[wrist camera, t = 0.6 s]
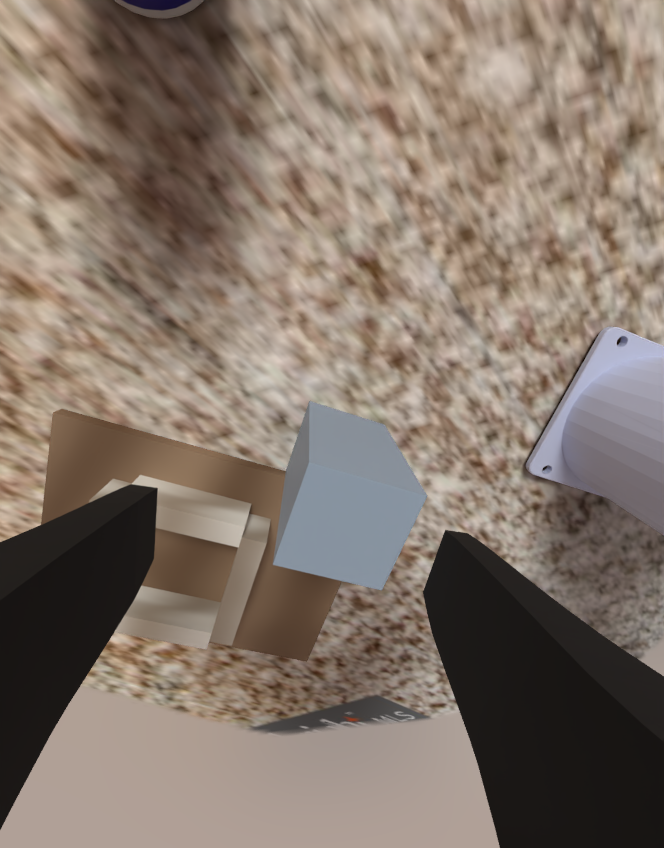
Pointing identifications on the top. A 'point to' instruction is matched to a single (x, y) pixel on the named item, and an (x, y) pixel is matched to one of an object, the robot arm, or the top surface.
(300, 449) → the pale blue square prism
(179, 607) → the well
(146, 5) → the energy drink
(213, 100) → the top surface
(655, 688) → the robot arm
